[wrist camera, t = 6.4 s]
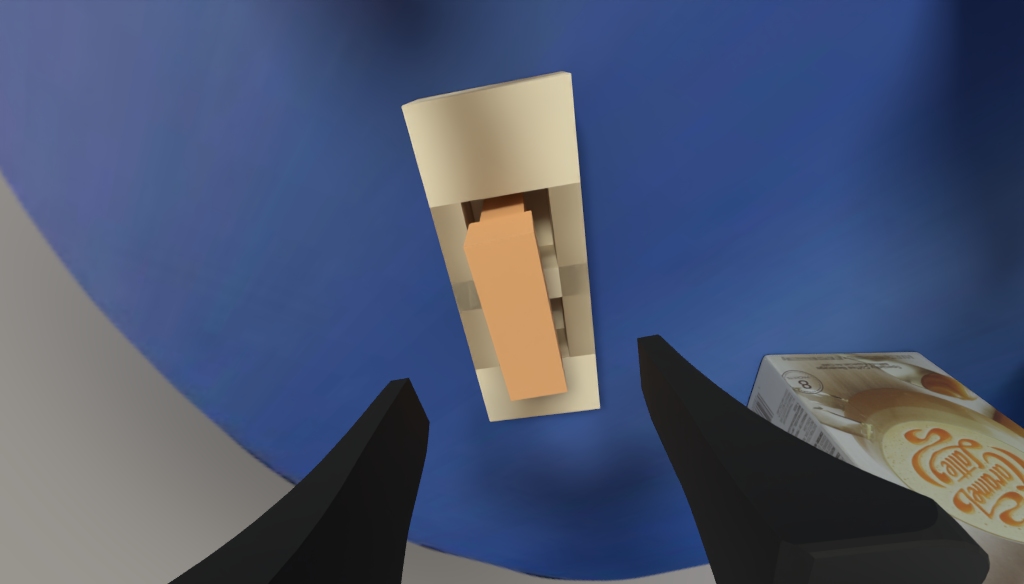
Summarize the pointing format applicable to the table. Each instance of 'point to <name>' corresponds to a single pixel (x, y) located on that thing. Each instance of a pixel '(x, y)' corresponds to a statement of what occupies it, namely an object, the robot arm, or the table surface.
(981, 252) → the table surface
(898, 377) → the coffee box
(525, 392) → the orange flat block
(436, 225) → the cream slotted block
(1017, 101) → the table surface
